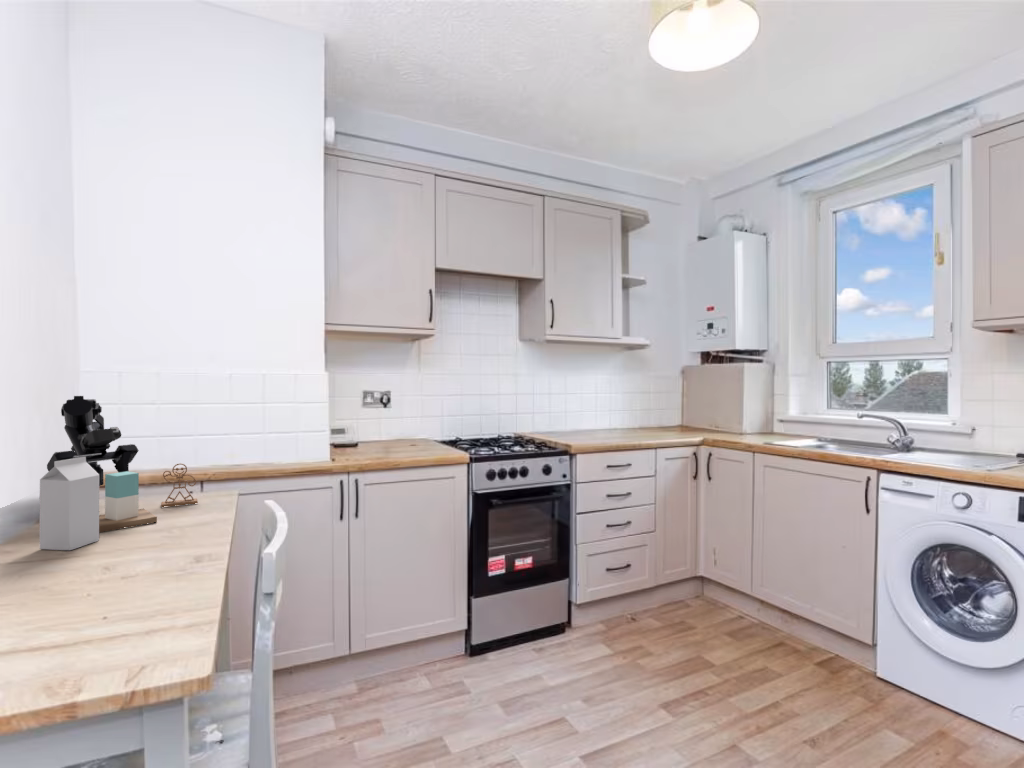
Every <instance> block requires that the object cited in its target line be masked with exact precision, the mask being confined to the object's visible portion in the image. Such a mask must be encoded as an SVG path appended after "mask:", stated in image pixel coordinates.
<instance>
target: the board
mask: <svg viewBox="0 0 1024 768" xmlns="http://www.w3.org/2000/svg"><path fill="white" fill-rule="evenodd" d="M153 522H157V523H158V516H156V515H155V514H153V513H152V512H150V511H148V510H147V509H145V508H138V516H136V517H131V518H126V519H122V520H117V521H116V520H111V519H107V518H105V514H99V533H104V531H105V532H110V530H111V531H115V529H117V530H121V529H120V528H123V529H125V528H124V527H128V528H132V527H131V526H134V527H137V526H136V525H140V526H142V525H141V524H146V525H148V524H147V523H152V524H154V523H153Z"/></svg>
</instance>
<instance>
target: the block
mask: <svg viewBox="0 0 1024 768" xmlns="http://www.w3.org/2000/svg"><path fill="white" fill-rule="evenodd" d="M139 474H140V473H139V472H134V471H129V472H128V471H126V472H114V473H113V472H112V473H107V474H105V475H104V479H105V480H104V482H105V483H104V487H105V488H104V493H105V495H104V515H105V518H107V519H111V520H116V521H117V520H122V519H126V518H131V517H136V516H138V509H139V497H140V496H139V494H140V491H139V484H140V483H139V481H140V479H139V476H140V475H139Z"/></svg>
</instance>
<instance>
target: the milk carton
mask: <svg viewBox="0 0 1024 768" xmlns="http://www.w3.org/2000/svg"><path fill="white" fill-rule="evenodd" d="M99 515H100V486H99V474H98V473H97V472H96V471H95V470H94V469H93V468H92V467H91V466H90V465H89V464H88V463H87V462H86V457H80V458H73V459H67V460H61V461H55V462H54V467H53V468H52V469H51V470H50V471H48V472H46V473H45V474H44V475H43V476H42V477H41V478H40V479H39V550H48V551H49V550H53V551H54V550H55V551H72V550H75V549H78V548H81V547H85V546H86V545H89V544H93V543H95V542H98V541H99V540H100V532H99Z"/></svg>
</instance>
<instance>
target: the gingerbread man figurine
mask: <svg viewBox="0 0 1024 768" xmlns="http://www.w3.org/2000/svg"><path fill="white" fill-rule="evenodd" d="M180 465H182V466H184V467H180V468H178V467H176V466H180ZM180 470H181V472H177V471H180ZM174 471H175V472H174ZM187 471H188V467H187V465H186V464H185V463H181V462H180V463H176V464H175V465H174V466H173V467H172V472H171V471H170V470H165V471H164V472H163V474H162V477H163V479H164V480H165V481H166V482H167V483H172V484H173V489H172V490H171V492H170V493H169V495H168V496H167V498H166V499H165V501H162V502H161V503H160V504H161V505H160V508H161V507H164V506H175V505H185V504H195V503H198V504H199V501H198V498H194V497H193V495H192V494H191V493H190V492H189V490H188V489H187V486H186V485H187V483H188V486H189V487H194V486H196V483H197V482H196V481H197V480H196V478H195V477H194V476H193V475H190V474H186V473H187ZM166 473H167V474H166ZM168 476H170V477H176V480H177V481H178V482H179V483H178V486H176V485H175V482H176V481H174V480H173V481H171V480H168V479H167V477H168ZM185 476H187V477H191V478H192V479H193V480H190V481H189V480H186V479H185V480H184V486H183V485H182V486H181V481H182V479H184V477H185ZM192 483H194V484H192ZM177 489H185V490H186V492H187V494H188V495H186V496H184V495H183V494H182V492H181V491H180V490H179V491H178V492H177V494H176V496H175V497H171V495H172V494H173V493H174V491H175V490H177ZM179 494H180V495H181V497H182V498H183V499H177V498H178V496H179ZM169 499H170V500H169ZM176 499H177V500H176ZM195 505H196V504H195ZM185 506H186V505H185Z"/></svg>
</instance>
